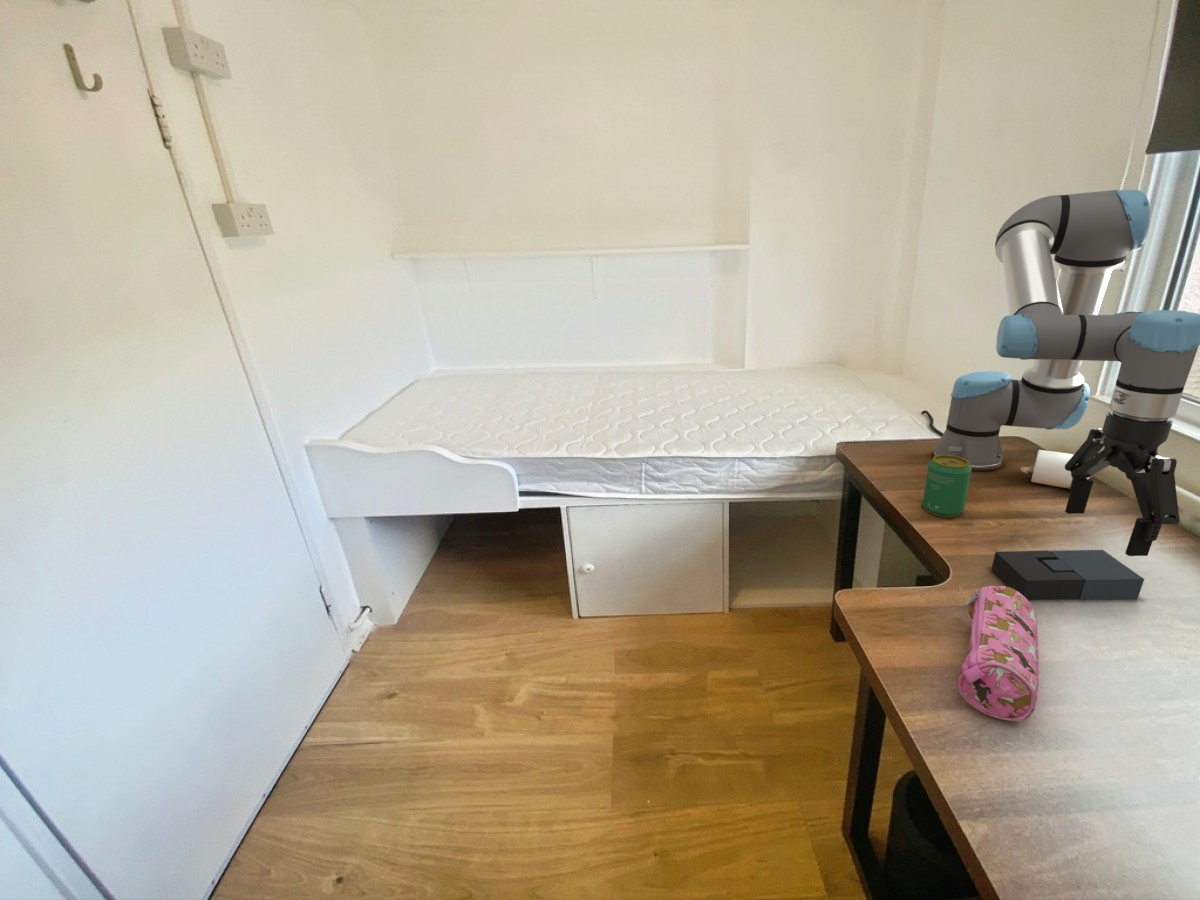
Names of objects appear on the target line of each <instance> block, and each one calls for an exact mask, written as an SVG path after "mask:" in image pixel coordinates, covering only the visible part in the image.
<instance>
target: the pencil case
mask: <svg viewBox="0 0 1200 900" xmlns="http://www.w3.org/2000/svg"><path fill="white" fill-rule="evenodd" d="M964 607H966V608H967V607H968V614H969V617H970V618H971V622H970V634H969V639H968V646H967V656H966V657H965V659H964V661H963V663H962V665H961V666H960V668H959V670H958V673H957V675H956V679H955V681H956V687H957V689H958V692H959V694H960V695H961V697H962V698H963V699H964V700H965V701H966V702H967V703H968V704H969V705H970V706H972V707H973V708H974V709H976V710H978V711H979V712H981V713H982V714H984V715H987V716H989V717H992V718H996V719H997V720H1001V721H1002V720H1004V721H1010V722H1023V721H1026V720H1028V719H1029V718H1030V717H1031V715H1033V713H1034V711H1035V710H1036V709H1035V708H1036V706H1037V700H1038V693H1039V673H1040V671H1039V660H1040V659H1039V658H1040V657H1039V649H1038V647H1039V635H1038V620H1037V615H1036V611H1035V609H1034V607H1033V605H1032V604H1031V602H1030V600H1027V599H1026V598H1025V597H1024V596H1023V595H1022V594H1021V593H1019V592H1018V591H1016V590H1014V589H1012V588H1010V587H1008V586H1004V585H988V586H982V587H981V588H980V589H975V590H974V592H973V593H972V594H971V595H970V598H969V599H967V601H966V602H965V603H964Z"/></svg>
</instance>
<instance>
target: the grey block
mask: <svg viewBox="0 0 1200 900" xmlns="http://www.w3.org/2000/svg"><path fill="white" fill-rule="evenodd" d="M1048 551H1049V552H1050V553H1052V554H1053V555H1054V556H1055V557H1056V559H1055V560H1042V564H1043V565H1044V566H1046V567H1047V568H1048V569H1049V570H1050V571H1051V572H1053V573H1055V572H1075V573H1077V574H1078V575H1079V576H1080V577H1082V578H1083V579H1084V582H1083V585H1082V589H1081V592H1080V595H1079V599H1078V600H1080V601H1081V600H1082V601H1083V600H1138V599H1139V596H1140V593H1141V591H1142V587H1143V584H1144V582H1145V578H1143V576H1141V575H1139V574H1138V573H1136V572H1135V571H1134V570H1132V569H1131V568H1129V567H1128V566H1126V565H1125V564H1123V563H1122V562H1121V561H1120V560H1118V559H1117V558H1116V557H1114V556H1112V555H1111V554H1110V553H1108V552H1107V551H1105V550H1104V549H1076V550H1075V549H1071V550H1069V549H1068V550H1048Z"/></svg>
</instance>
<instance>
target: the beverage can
mask: <svg viewBox="0 0 1200 900" xmlns="http://www.w3.org/2000/svg"><path fill="white" fill-rule="evenodd" d="M927 466H928V467H927V473H926V478H925V485H924V491H923V496H922V497H923V498H922V506H923V509H924V510H925V511H926V512H927V513H929V514H931V515H933V516H937V517H940V518H957V517H959V516H960V515H961V514H962V513H963V512H964V510H965V507H966V502H967V496H968V491H969V485H970V481H971V475H972V472H973V470H972V468H971V466H970V465H969V461H968V460H966V459H964V458H962V457H958V456H953V455H937V456H935V457H934V456H933V457H932V459H931V460H930V461H929V462H928V465H927Z"/></svg>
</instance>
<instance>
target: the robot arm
mask: <svg viewBox="0 0 1200 900" xmlns="http://www.w3.org/2000/svg"><path fill="white" fill-rule="evenodd" d="M1150 221H1151V209H1150V202H1149V198H1148V196H1147V195H1146V193H1144V192H1143V191H1142V190H1139V189H1110V190H1101V191H1091V192H1080V193H1068V194H1053V195H1047V196H1044V197H1040V198H1037V199H1035V200H1033V201H1030V202H1028V203H1027V204H1025V205H1023V206H1021V207H1020V208H1019V209H1017V210H1016V211H1015V212H1013V214H1011V215H1010V216H1009V217H1008V218H1007V219H1006V220H1005V221H1004V223H1003V224H1002V225H1001V227H1000V229H998V233H997V235H996V236H995V237H996V238H995V243H994V249H995V255H996V258H997V259H998V261H999V262H1000V263H1001V264H1002V265H1003V266H1002V267H1003V272H1004V281H1005V291H1006V298H1007V305H1008V306H1007V308H1008V315H1006V316H1003V318H1002V319H1001V320H1000V322H999V326H998V329H997V335H996V344H995V349H996V353H997V355H998V356H999V357H1001V358H1003V359H1005V358H1008V359H1019V360H1022V361H1026V360H1033V361H1034V362H1033V365H1032V366H1031V367H1029V368H1027V369H1025V370H1024V371H1023V373H1022V376H1021V379H1012V376H1011V375H1010V373H1007V372H1003V371H995V370H994V371H993V370H992V371H991V370H988V371H987V370H986V371H985V370H984V371H974V372H969V373H966V374H963V375H960V376H959V377H957V378H956V380H955V381H954V382H953V383H954V384H953V387H952V391H951V393H950V397H951V399H950V403H949V410H948V416H947V420H946V425H945V426H946V427H945V430H944V432H942V431H940V430H939V429H937V428H936V427H935V426H934V418H933V417H932V415H931V413H930V412H929V411H928V410H926V409H924V410H922V411H921V413H920V414H922V415H924V414H925V415H927V417H928V418H929V427H930V428H931V430H932V431H934V432H935V433H936V434H937V435H940V436H941V437H940V439H939V441H938V443H937V444H936V445H935V448H934V451H933V457H935V456H937V455H953V456H958V457H962V458H964V459H966V460H968V461H969V465H970V466H971V468H972V472H973V471H975V472H985V471H986V472H987V471H992V470H997V469H999V468H1000V467H1001V466H1002V464H1003V457H1004V456H1003V450H1002V445H1001V441H1000V431H1001V427H1002V426H1004V427H1005V426H1006V427H1018V428H1032V429H1033V428H1034V429H1045V430H1048V431H1049V430H1050V431H1051V430H1068V429H1070V428H1073V427H1075V426H1076V425H1077V424H1079V422H1080V421H1081V419H1082V418H1083V416H1085V413H1086V411H1087V408H1088V406H1089V399H1090V398H1091V397H1090V396H1091V389H1090V386H1089V384H1088V383H1087V382H1085V381H1086V380H1085V377H1084V375H1083V374H1082V373H1081V372H1080V369H1081V366H1082V363H1083V361H1093V362H1094V361H1097V362H1120V367H1119V371H1118V374H1117V378H1116V380H1115V386H1114V390H1113V393H1112V396H1111V400H1110V404H1109V409H1110V410H1109V411H1107V413H1106V415H1105V419H1104V423H1103V426H1102V428H1091V429H1090V430H1089V432H1088V434H1087V437H1086V439H1085V441H1084V442H1083V443H1082V444H1081V446H1079V448H1078V449H1077V451H1076V452H1075V453H1074V455H1073V456H1072V458H1071V459H1070V460H1069V461H1068V462H1067V463H1066V465H1065V470H1067V471H1070V472H1071V477H1072V478H1073V479H1072V482H1071V486H1070V489H1068V490H1069V495H1068V500H1067V503H1066V507H1065V510H1064V513H1066V514H1068V515H1071V514H1077V515H1078V514H1085V511H1086V508H1087V505H1088V501H1089V499H1090V494H1091V491H1092V487H1093V484H1094V480H1093V479H1091V478H1093V477H1094V475H1096V474H1097V473H1099V472H1101V471H1103V470H1104V469H1107V467H1109V466H1111V467H1113V468H1116V469H1118V470H1119V471H1120V472H1122V473H1124V474H1125V477H1126V479H1128V480H1129V481H1130V482H1131V485H1132V488H1133V491H1134V495H1135V498H1136V502H1137V504H1138V507H1139V510H1140V513H1141V517H1136V520H1135V521H1134V522H1135V523H1134V525H1133V529H1132V531H1131V534H1130V538H1129V540H1128V544H1127V546H1126V549H1125V553H1124V554H1125V555H1126V556H1128V557H1148V555H1149V552H1150V550H1151V547H1152V544H1153V542H1155V541H1156V540H1158V537H1159V534H1160V532H1161V528H1162V526H1163V525H1178V524H1179V523H1180V513H1179V504H1178V495H1177V486H1176V485H1177V484H1176V477H1175V472H1176V468H1177V464H1178V461H1177V459H1176V458H1175V457H1163V456H1161V455H1159V454H1158V449H1159V447H1160V446H1161V445H1162V444H1164V443H1165V442H1167V440H1168V438H1169V435H1170V431H1171V429H1172V426H1173V423H1174V421H1173V420H1172V418H1173V417H1175V416H1176V415H1177V412H1178V409H1179V405H1180V403H1181V399H1182V396H1183V392H1184V391H1185V386H1186V383H1187V381H1188V377H1189V375H1190V373H1191V369H1192V367H1193V364H1194V361H1195V358H1196V355H1197V353H1198V349H1199V347H1200V313H1198V312H1192V311H1191V312H1190V311H1187V310H1175V309H1174V310H1173V309H1170V310H1169V309H1157V310H1155V309H1154V310H1147V311H1138V310H1124V311H1120V312H1116V313H1114V314H1099V311H1100V308H1101V306H1102V301H1103V300H1104V296H1105V293H1106V290H1107V287H1108V284H1109V281H1110V278H1111V274H1112V271H1113V270H1114V269H1116V268H1118V267H1120V266H1121V265H1123V264H1124V263H1125V262H1126V259H1127V256H1128V253H1129V252H1130V253H1134V252H1136V251H1139V250H1141V249H1142V247H1143V245H1144V244H1145V242H1146V240H1147V237H1148V234H1149V229H1150ZM1052 255H1054V258H1052ZM1054 263H1055V264H1056V266H1057V267H1058V268H1059V272H1058V276H1057V277H1056V272H1055V268H1054ZM1143 470H1144V472H1142V471H1143ZM1087 478H1089V479H1087Z"/></svg>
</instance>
